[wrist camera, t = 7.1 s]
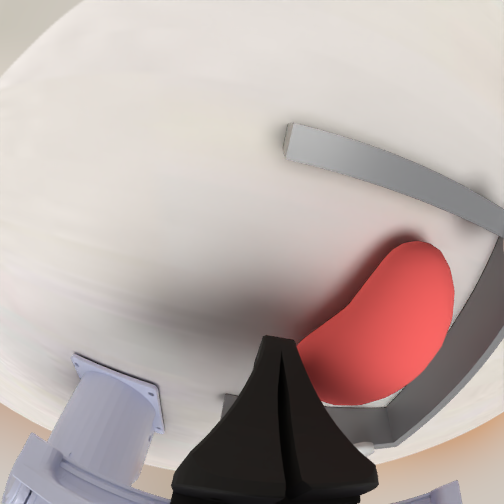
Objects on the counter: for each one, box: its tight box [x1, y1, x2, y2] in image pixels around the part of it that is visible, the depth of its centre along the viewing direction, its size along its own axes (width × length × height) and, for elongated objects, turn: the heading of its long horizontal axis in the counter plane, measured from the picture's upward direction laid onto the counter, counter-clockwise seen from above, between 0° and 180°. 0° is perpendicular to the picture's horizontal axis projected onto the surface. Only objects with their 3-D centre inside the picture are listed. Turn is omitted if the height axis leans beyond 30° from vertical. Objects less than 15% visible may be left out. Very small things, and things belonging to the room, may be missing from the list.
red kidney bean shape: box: [297, 241, 454, 405], centre depth 11 cm, size 5×9×6 cm, turn 136°
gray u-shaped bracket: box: [220, 123, 504, 457], centre depth 12 cm, size 19×14×4 cm
